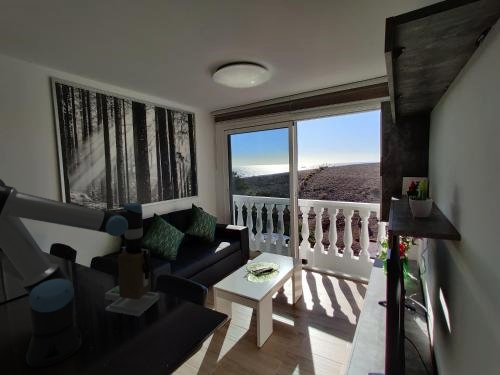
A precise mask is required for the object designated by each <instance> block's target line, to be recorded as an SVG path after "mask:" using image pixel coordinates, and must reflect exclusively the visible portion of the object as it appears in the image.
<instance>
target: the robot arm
mask: <svg viewBox="0 0 500 375" xmlns="http://www.w3.org/2000/svg"><path fill="white" fill-rule="evenodd" d="M21 219H26V220H31V221H38V222H43V223H50V224H55V225H59V226H61V225H62V226H65V227H72V228H76V229H77V228H78V229H83V230H88V231H95V232H100V233H103V234H105V233H106V234H108V235H109V236H113V237H120V236H122V235H124V246H122V247H120V248H119V255H120V254H122V253H124V252H127V253H133V254H137V253H141V252H143V253H142V254H143V256H144V260H145V263H143V271H144V272H143V287H145V286H146V285H148V278H149V272H150V273H151V271H153V270H154V267H153V263H152V259H151V254H150V255H149V250H150V249H149V248H146V249H145V248H144V247H143V246H144V245H143V244H144V236H143V235H144V229H143V226H144V225H143V206H142V204H141V203H140V202H126V203H124V204H123V207H122V208H115V209H114V208H113V209H104V210H103V209H101V210H98V209H93V208H91V207H85V206H81V205H77V204H72V203H68V202H63V201H61V200H59V201H58V200H55V199H50V198H46V197H41V196H38V195H34V194H33V195H32V194H30V193H29V194H28V193H24V192H20V191H19V190H17V189H16V188H15V187H13V186H9V185H6V183H5V182H4V181H3V179H1V178H0V249H1V250H2V251H3V253H4V254H5V255H6V257H7V258H8V259H9V261H10V262H11V264H12V265H13V266H14V268H15V269H16V270H17V271H18V272H19V274H20V275H21V277H22V278H23V281H22V283H21V286H22V287H23V289H24V290H25V292H26V293H27V294H28V295H29V299H28V304H29V307H30V322H31V323H30V324H31V338H30V341H29V345H28V348H27V351H26V353H25V360H26V361H25V362H26V364H27V366H29V367H31V368H37V369H39V368H46V367H50V366H53V365H56V364H59V363H61V362H63V361H65V360H67V359H69V358H70V357H71V356H73V355H74V354H75V353H76V352H77V351H78V350H79V349H80V348H81V345H82V343H83V342H82V341H83V340H82V334H81V332H80V330H79V328H78V326H77V324H76V320H75V317H76V316H75V302H74V301H75V299H74V298H75V297H74V294H75V289H74V285H73V283H72V282H71V279H70V277H69V275H68V274H67V273H65V271H63V270H62V269H61V267H60V266H59V264H58V263H52V262H51V261H50V260H49V258H48V257H47V256H46V254H45V253H44V251H43V250H42V249H41V247H40V246H39V244H38V243H37V241H36V239H35V238H34V237H33V235H32V234H31V232H30V231H29V229H28V228H27V226H25V224H24V223H23V221H22V220H21ZM116 268H117V269H119V265H118V262H117V264H116Z"/></svg>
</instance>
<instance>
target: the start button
mask: <svg viewBox="0 0 500 375" xmlns="http://www.w3.org/2000/svg"><path fill="white" fill-rule="evenodd" d="M117 286H118V287H116V286H115V287H113V288H114V293H117V294H119V285H117Z"/></svg>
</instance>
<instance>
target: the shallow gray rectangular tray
mask: <svg viewBox="0 0 500 375" xmlns="http://www.w3.org/2000/svg"><path fill="white" fill-rule="evenodd" d="M159 299H160V293H158V292H153V291H148V292H147V293H146V294H145V295H143V296H142V297H141V298H140V299H129V298H122V297H121V298H119V299H118V300H116V301H112V303H111V304H109V305H107V306H106V307H105V311H108V312H111V313H116V314H117V313H118V314H122V313H123V314H124V315H127V316H129V315H130V316H133V315H134V317H140V316H142V315H143V313H144V311H145V312H146V311H147V310H148V309H149V308H151V307H152V305H154V304H155V303H157V302H158V300H159Z"/></svg>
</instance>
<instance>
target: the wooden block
mask: <svg viewBox="0 0 500 375" xmlns="http://www.w3.org/2000/svg"><path fill="white" fill-rule="evenodd" d="M142 253H143V252H141V253H137V254H133V253H127V252H124V253H122V254H120V253H119V254H118V257H117V263H118V265H119V268H118V286H119V294H120V297H122V298H129V299H140V298H141V297H142V296H143V295H145V294H146V293H147V292H151V289H152V287H151V286H152V285H151V284H152V282H151V276H152V275H151V271H150V272H149V278H148V285H146V286H145V287H143V272H144V271H143V263H145V260H144V256H143V254H142ZM149 255H150V256H151V251H150V249H149Z"/></svg>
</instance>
